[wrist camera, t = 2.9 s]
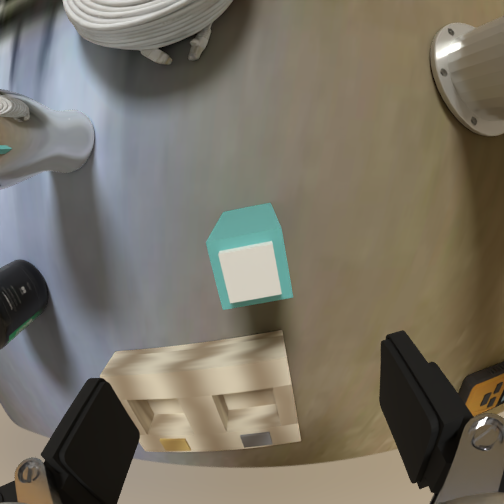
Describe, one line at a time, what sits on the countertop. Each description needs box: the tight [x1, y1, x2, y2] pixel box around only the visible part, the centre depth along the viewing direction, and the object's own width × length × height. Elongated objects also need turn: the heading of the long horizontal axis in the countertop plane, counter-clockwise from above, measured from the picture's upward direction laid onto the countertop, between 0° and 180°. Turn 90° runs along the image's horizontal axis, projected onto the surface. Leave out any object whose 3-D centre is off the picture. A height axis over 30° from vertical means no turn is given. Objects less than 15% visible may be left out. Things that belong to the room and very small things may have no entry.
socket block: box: [100, 330, 301, 452], centre depth 29 cm, size 18×12×5 cm, turn 101°
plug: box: [206, 203, 293, 310], centre depth 21 cm, size 4×4×11 cm
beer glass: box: [0, 89, 94, 190], centre depth 17 cm, size 7×7×15 cm
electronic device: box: [458, 362, 504, 416], centre depth 32 cm, size 8×16×3 cm, turn 94°
